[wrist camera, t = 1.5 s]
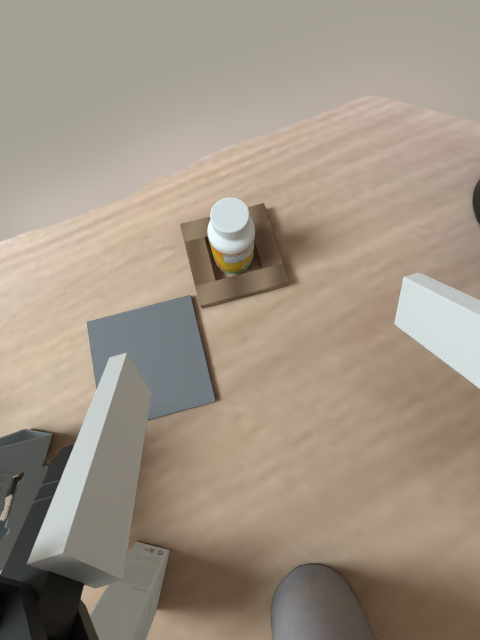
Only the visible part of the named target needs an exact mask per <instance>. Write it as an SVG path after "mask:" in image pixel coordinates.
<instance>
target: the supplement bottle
mask: <svg viewBox="0 0 480 640" xmlns="http://www.w3.org/2000/svg"><path fill="white" fill-rule="evenodd" d="M210 219H211V220H210V222H209V224H208V229H207V233H208V238H209V242H210V246H211V249H212V253H213V256H214V260H215V263H216V265H217V266H218V267H219V269H220V270H222V271H223V272H225V273H228V274H239V273H242V272H244V271H245V270H246V269H248V268H249V266H250V265H251V263H252V260H253V253H254V240H255V226H254V223H253V220H252V219H251V217H250V216H249V209H248V207H247V206H246V204H245V203H244V202H243V201H241V200H240V199H237V198H233V197H227V198H223V199H221V200H219V201H217V202H216V203H215V204H214V206H213V207H212V209H211V213H210Z"/></svg>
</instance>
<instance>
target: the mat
mask: <svg viewBox="0 0 480 640" xmlns="http://www.w3.org/2000/svg"><path fill="white" fill-rule="evenodd" d="M87 328H88V334H89V341H90V348H91V355H92V362H93V369H94V375H95V382H96V389H97V387H98V385H99V382H100V380H101V377H102V375H103V372H104V370H105V367H106V365H107V362H108V360H109V357H113V356H117V355H120V354H124V353H127V354H128V356H129V357H130V359H131V360H132V362H133V364H134V365H135V367H136V368H137V370H138V372H139V373H140V375H141V376H142V378H143V380H144V381H145V383H146V385H147V386H148V388H149V389H150V391H151V400H150V406H149V413H148V419H147V420H149V419H153V418H156V417H160V416H164V415H167V414H171V413H175V412H178V411H182V410H186V409H189V408H193V407H196V406H200V405H204V404H207V403H211V402H215V401H216V399H215V395H214V390H213V386H212V382H211V378H210V373H209V369H208V365H207V361H206V356H205V352H204V348H203V344H202V340H201V335H200V331H199V327H198V323H197V318H196V314H195V310H194V306H193V301H192V297H191V295H189V296H185V297H181V298H177V299H173V300H170V301H166V302H162V303H158V304H154V305H150V306H146V307H143V308H139V309H135V310H131V311H127V312H123V313H119V314H116V315H112V316H108V317H104V318H100V319H96V320H92V321H89V322H87Z"/></svg>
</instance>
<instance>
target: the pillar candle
mask: <svg viewBox="0 0 480 640" xmlns="http://www.w3.org/2000/svg"><path fill="white" fill-rule="evenodd" d="M271 627H272V638H273V640H377V639H376V637H375V635H374V633H373V631H372V629H371V627H370V625H369V622H368V620H367V618H366V616H365V614H364V612H363V610H362V608H361V606H360V604H359V602H358V599H357V597H356V595H355V593H354V591H353V590H352V588H351V586H350V585H349V584H348V583H347V581H346V580H345V579H344V578H343V577H342V576H341V575H340V574H338V573H337V572H336V571H334V570H332V569H330V568H328V567H326V566H323V565H318V564H306V565H303V566H299V567H297V568H295V569H294V570H293V571H292V572H291V573H290V574H289V575H288V576H287V577H286V578H285V579H284V580H283V581H282V583H281V584H280V586H279V587H278V589H277V590H276V592H275V594H274V598H273V602H272V606H271Z"/></svg>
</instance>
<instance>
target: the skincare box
mask: <svg viewBox="0 0 480 640" xmlns="http://www.w3.org/2000/svg"><path fill="white" fill-rule="evenodd" d="M169 552H170V551H169V550H167V549H164V548H160V547H155V546H152V545H148V544H144V543H141V542H135V543H134V545H133V546H132V548H131V550H130V551H129V553H128V554H127V557H126V564H125V570H124V577H123V580H121V581H117V582H114V583H111V584H109V585H108V586H107V588H106V590H105V591H104V593H103V595H102V596H101V598H100V599H99V601H98V603H97V604H96V606H95V607H94V609H93V611H92V612H91V614H90V615H89V616H90V618H91V621H92V623H93V626H94V628H95V631H96V633H97V636H98V638H99V640H146V638H147V635H148V632H149V629H150V627H151V624H152V621H153V619H154V616H155V613H156V610H157V606H158V601H159V597H160V593H161V588H162V584H163V579H164V575H165V570H166V566H167V561H168V557H169Z"/></svg>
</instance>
